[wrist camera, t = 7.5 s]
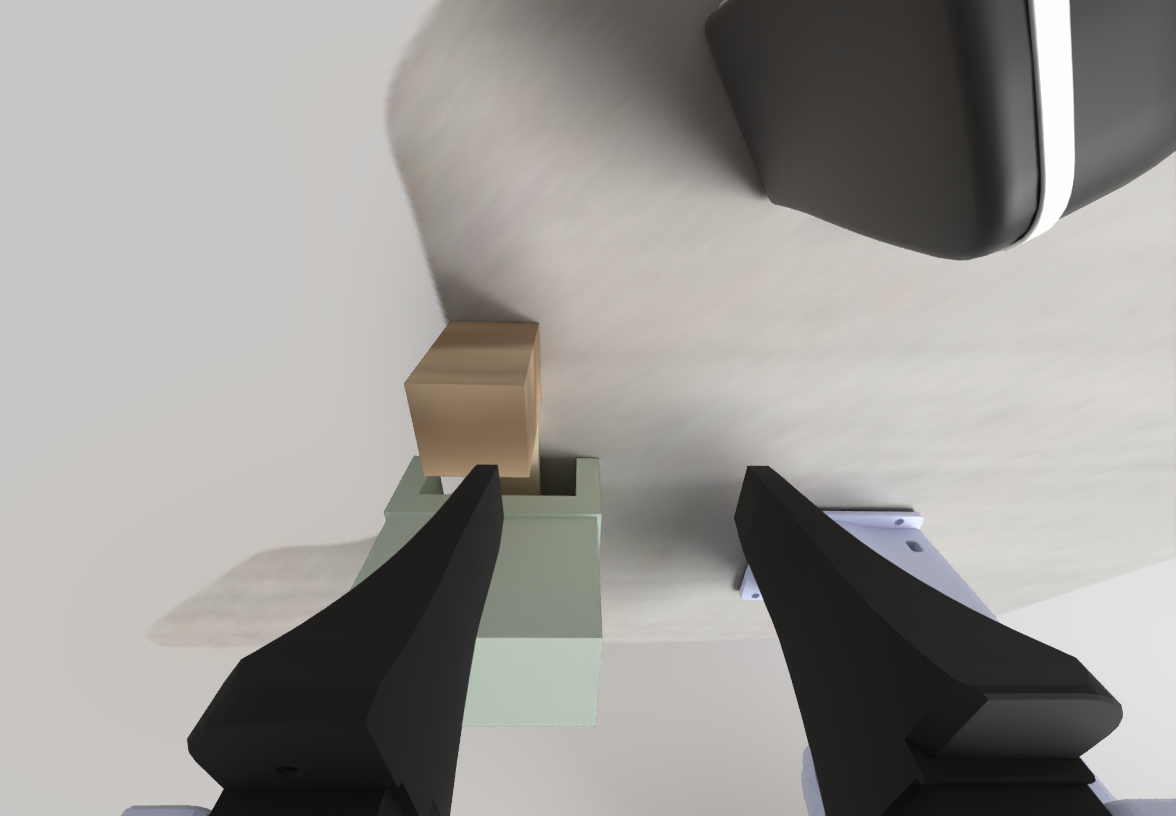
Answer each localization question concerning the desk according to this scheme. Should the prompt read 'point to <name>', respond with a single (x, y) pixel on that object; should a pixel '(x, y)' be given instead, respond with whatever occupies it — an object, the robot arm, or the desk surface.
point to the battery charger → (949, 110)
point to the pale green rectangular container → (524, 601)
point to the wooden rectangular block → (480, 403)
